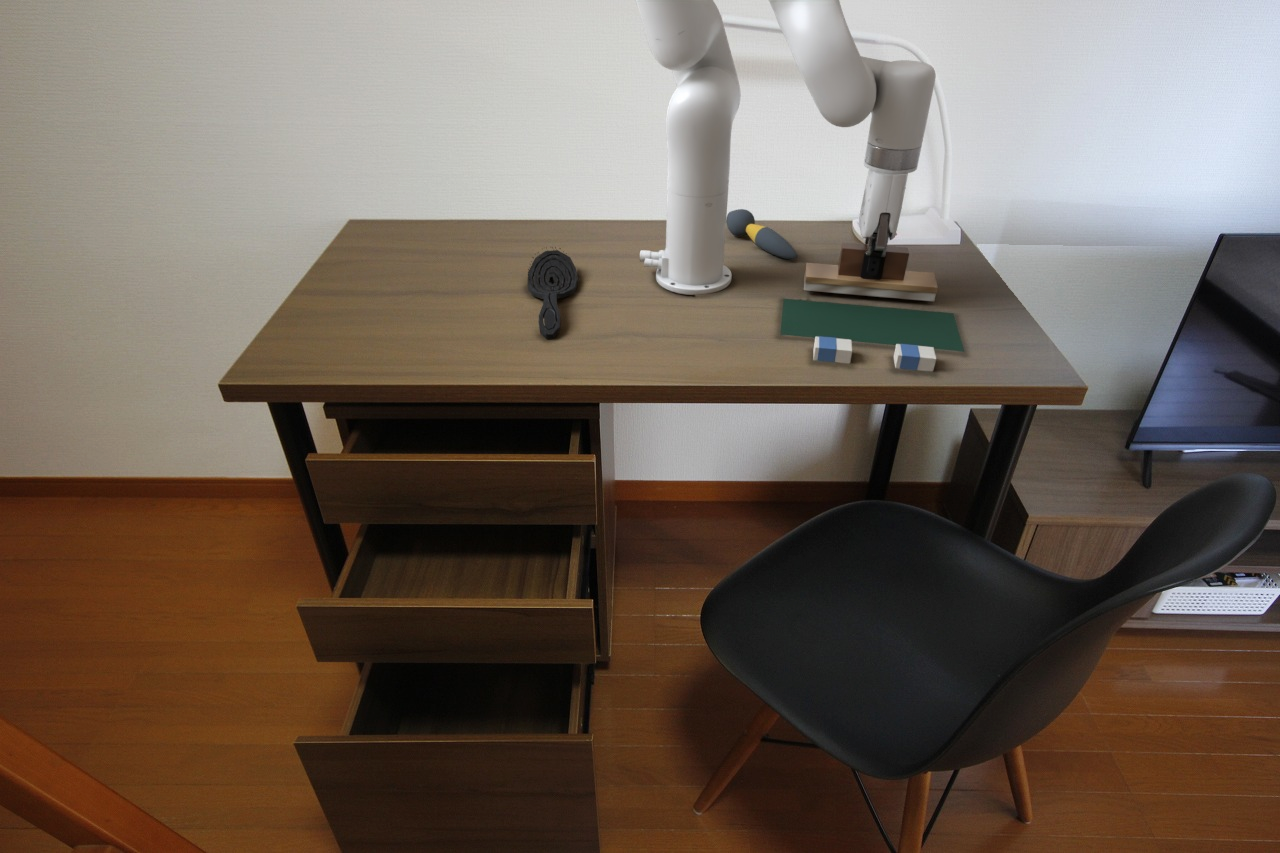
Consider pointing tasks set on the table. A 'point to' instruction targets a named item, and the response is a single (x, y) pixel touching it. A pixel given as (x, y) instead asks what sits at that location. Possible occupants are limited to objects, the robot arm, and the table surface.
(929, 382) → the table surface
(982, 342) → the table surface
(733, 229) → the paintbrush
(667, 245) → the robot arm
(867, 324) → the desk mat
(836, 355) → the eraser left
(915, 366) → the eraser right
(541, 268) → the hairbrush
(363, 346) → the table surface
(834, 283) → the scrub brush
